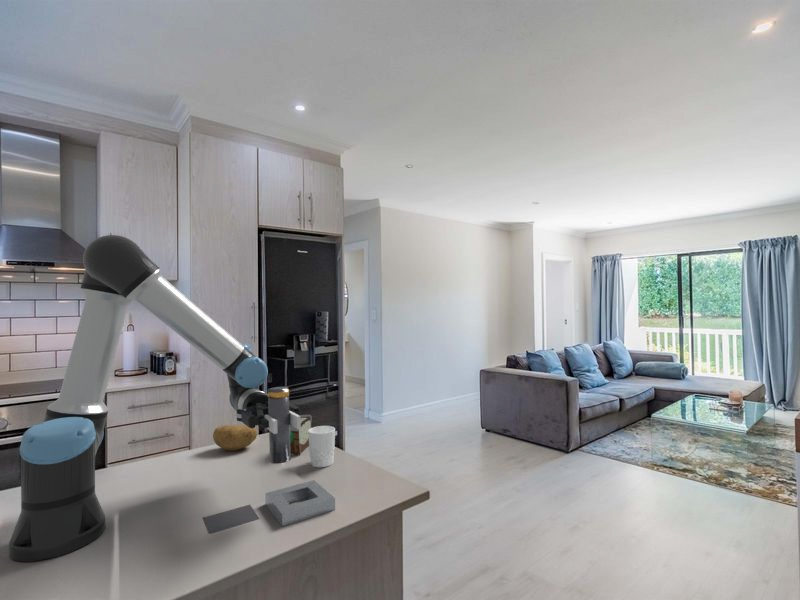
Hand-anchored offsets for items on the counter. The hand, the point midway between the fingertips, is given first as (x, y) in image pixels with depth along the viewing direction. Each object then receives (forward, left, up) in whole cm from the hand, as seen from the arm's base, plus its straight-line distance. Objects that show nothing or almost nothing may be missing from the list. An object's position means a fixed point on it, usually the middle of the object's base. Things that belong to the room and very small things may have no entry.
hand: (287, 424), depth 89 cm
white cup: (+20, +28, -21) cm, 40 cm away
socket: (+4, +4, -21) cm, 22 cm away
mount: (-10, +8, -21) cm, 25 cm away
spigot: (0, +5, -9) cm, 10 cm away
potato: (+2, +57, -21) cm, 61 cm away
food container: (+18, +44, -21) cm, 52 cm away
